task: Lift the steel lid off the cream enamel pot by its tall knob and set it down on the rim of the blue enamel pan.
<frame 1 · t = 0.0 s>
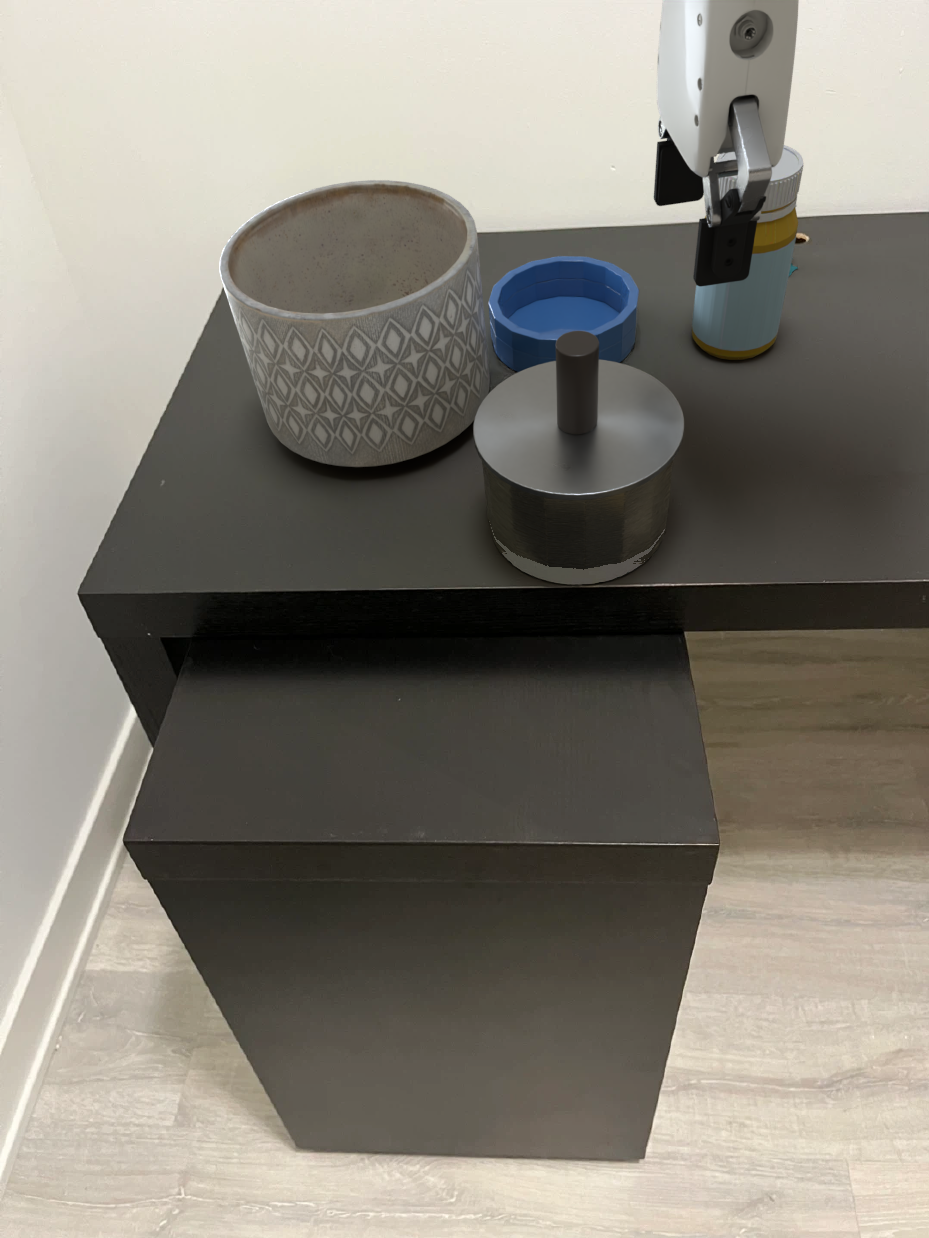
hand: (698, 239, 59), 17 cm above the table, tool pointing down, fingers open, 9 cm apart
bottle: (732, 340, 80), on the table
planter: (380, 406, 79), on the table
pan: (563, 336, 82), on the table
lid: (577, 427, 62), point 8 cm above the table, touching pot
pot: (577, 520, 68), on the table
figurine: (772, 273, 86), on the table
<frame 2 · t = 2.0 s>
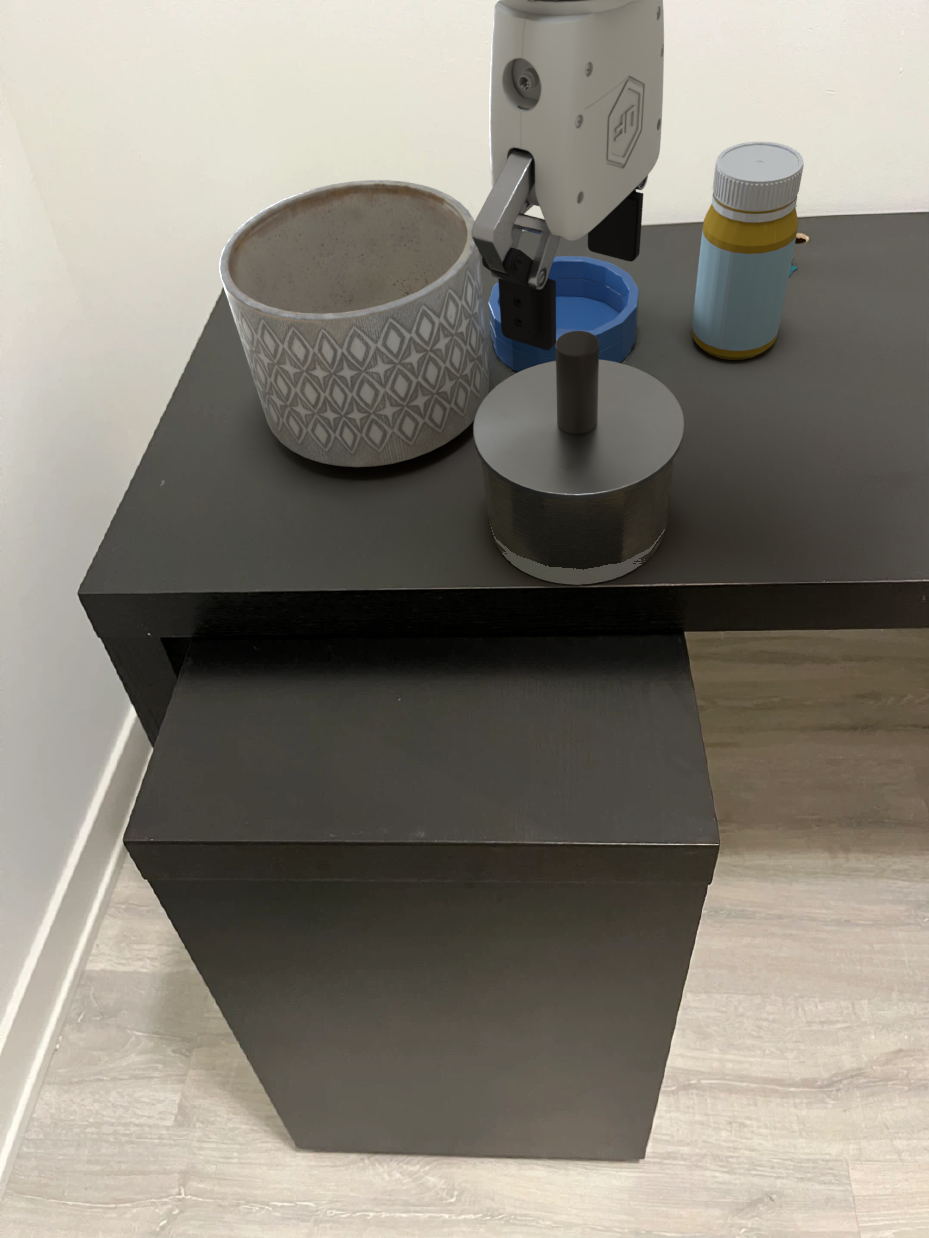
hand: (572, 296, 54), 18 cm above the table, tool pointing down, fingers open, 9 cm apart
nothing on the table moved.
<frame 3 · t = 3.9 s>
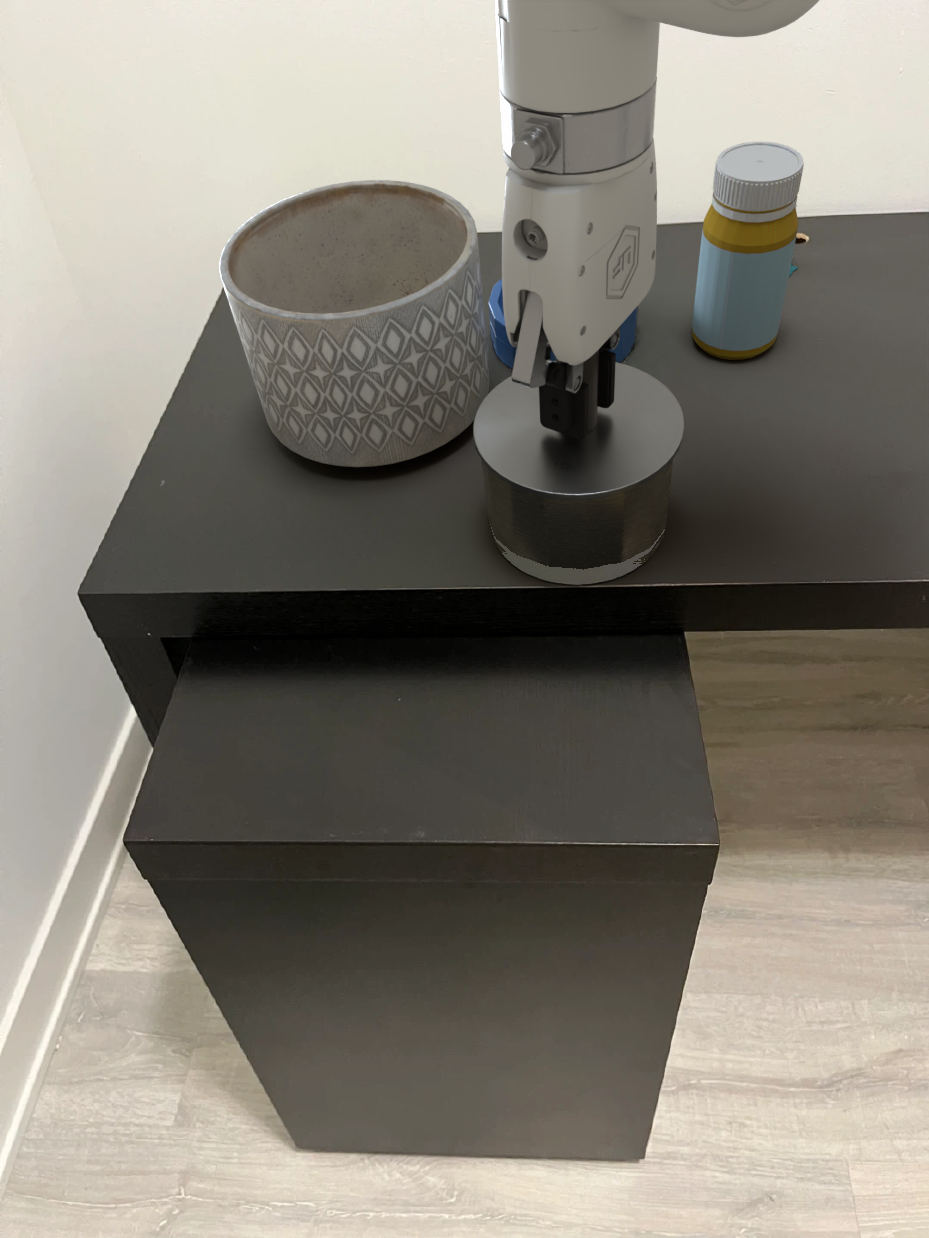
hand: (577, 413, 61), 10 cm above the table, tool pointing down, fingers closed on lid, 2 cm apart
lid: (577, 427, 62), point 9 cm above the table, touching gripper, pot
everything else where it was.
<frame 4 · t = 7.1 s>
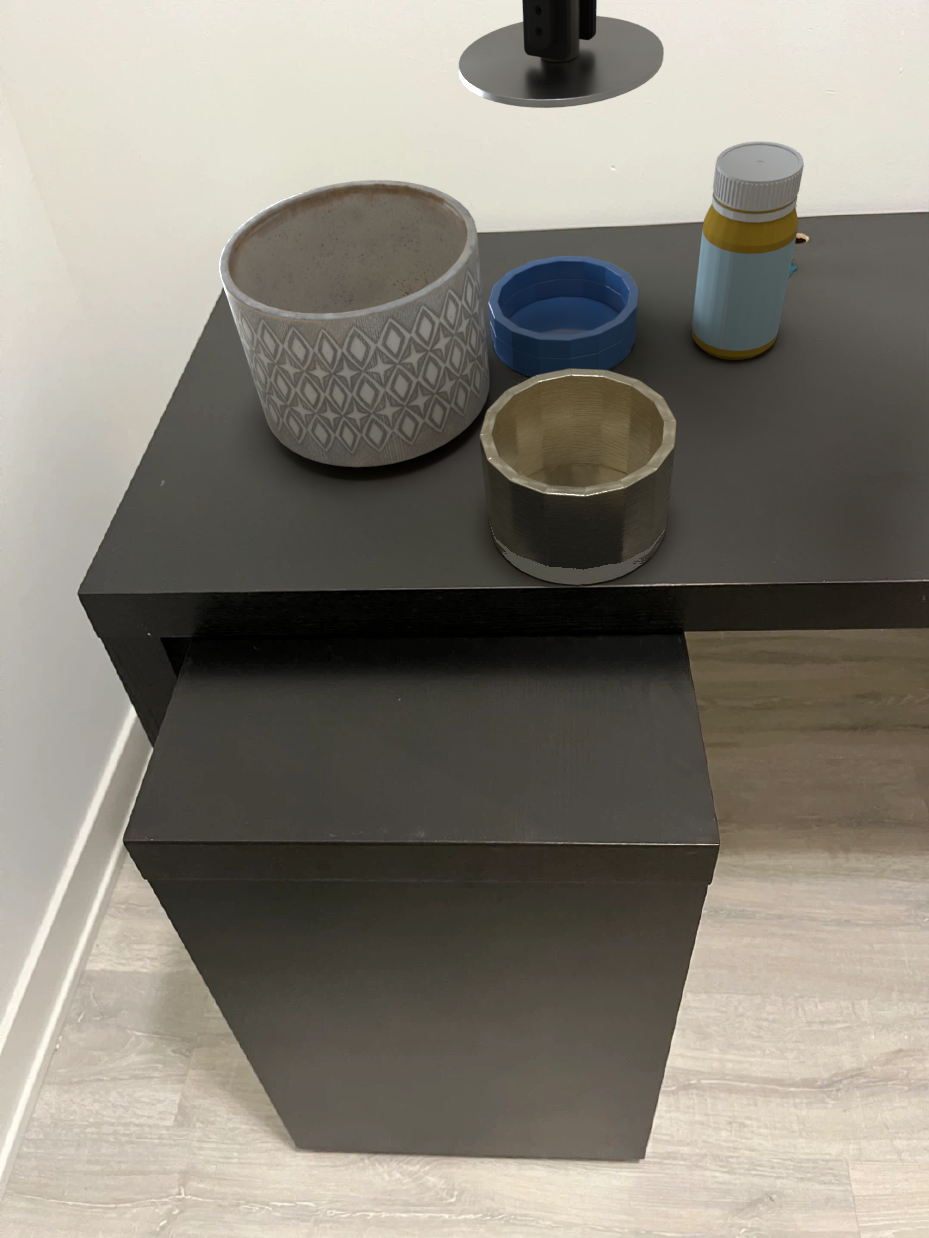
hand: (560, 43, 62), 24 cm above the table, tool pointing down, fingers closed on lid, 2 cm apart
lid: (559, 63, 63), point 23 cm above the table, touching gripper
everything else where it was.
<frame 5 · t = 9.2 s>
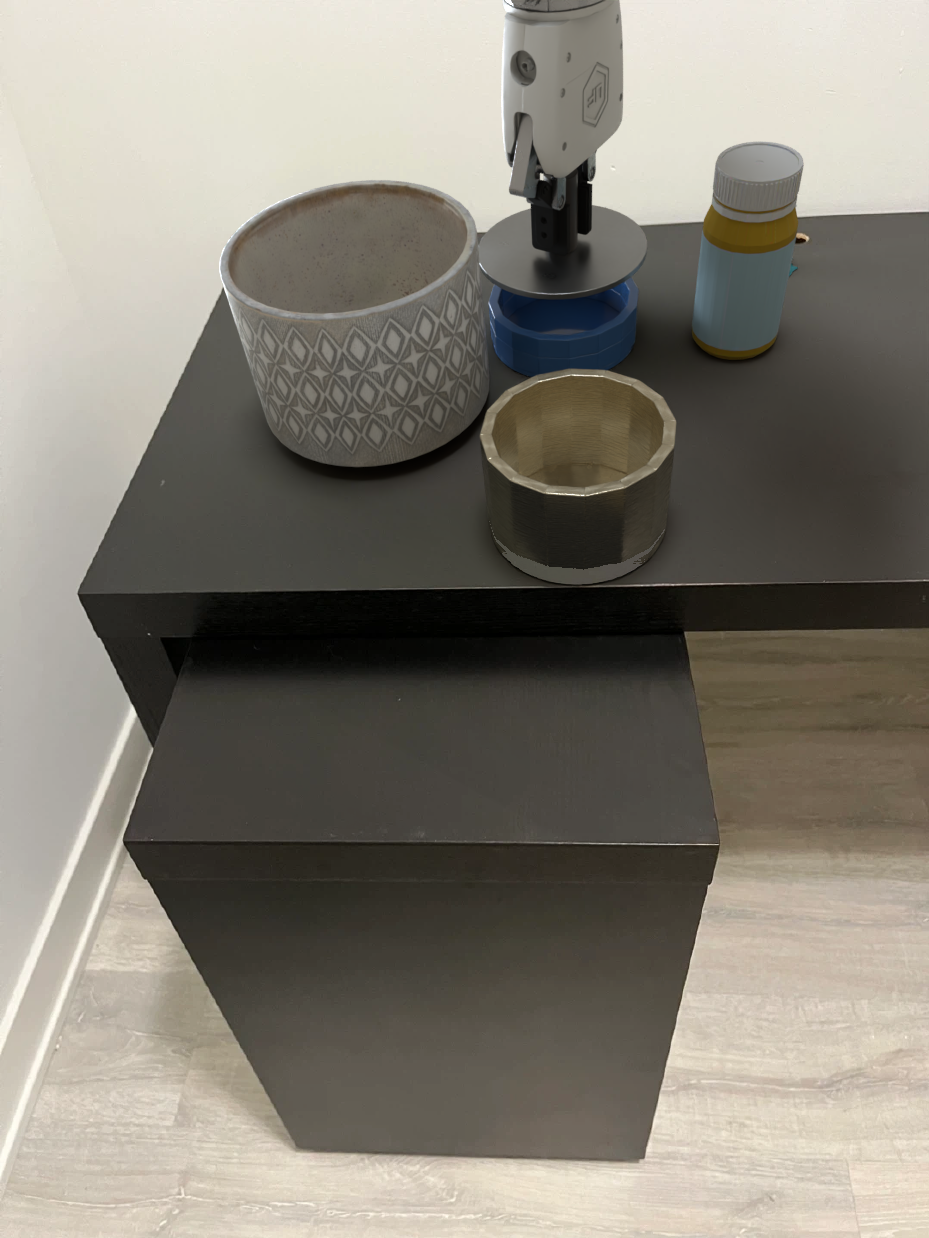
hand: (562, 238, 75), 9 cm above the table, tool pointing down, fingers closed on lid, 2 cm apart
lid: (561, 252, 76), point 8 cm above the table, touching gripper
everything else where it was.
when the fingers open (5 cm above the table, at t = 10.6 s): lid stays where it is, resting on pan.
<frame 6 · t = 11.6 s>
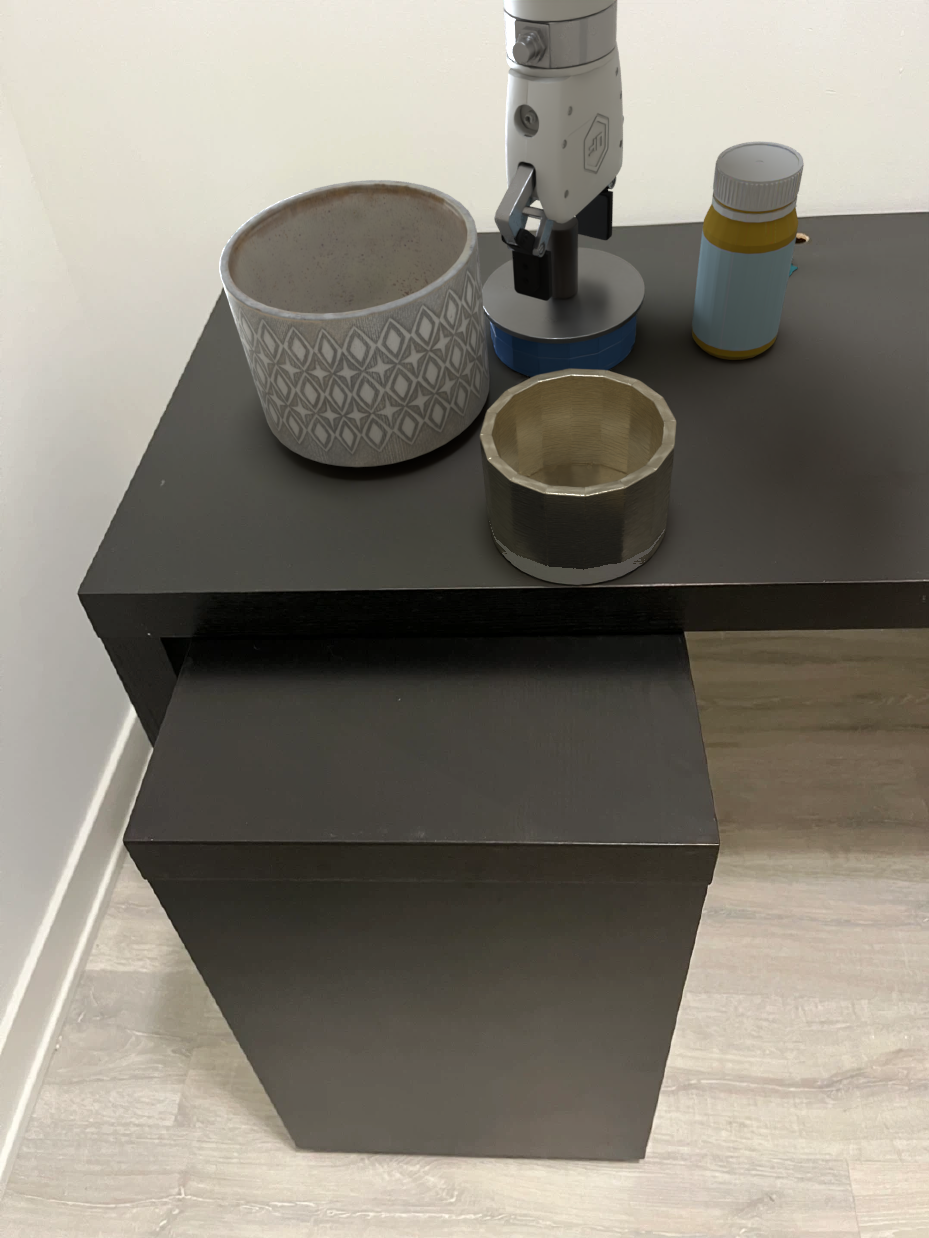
hand: (564, 264, 77), 7 cm above the table, tool pointing down, fingers open, 9 cm apart
lid: (562, 295, 79), point 4 cm above the table, touching pan
everything else where it was.
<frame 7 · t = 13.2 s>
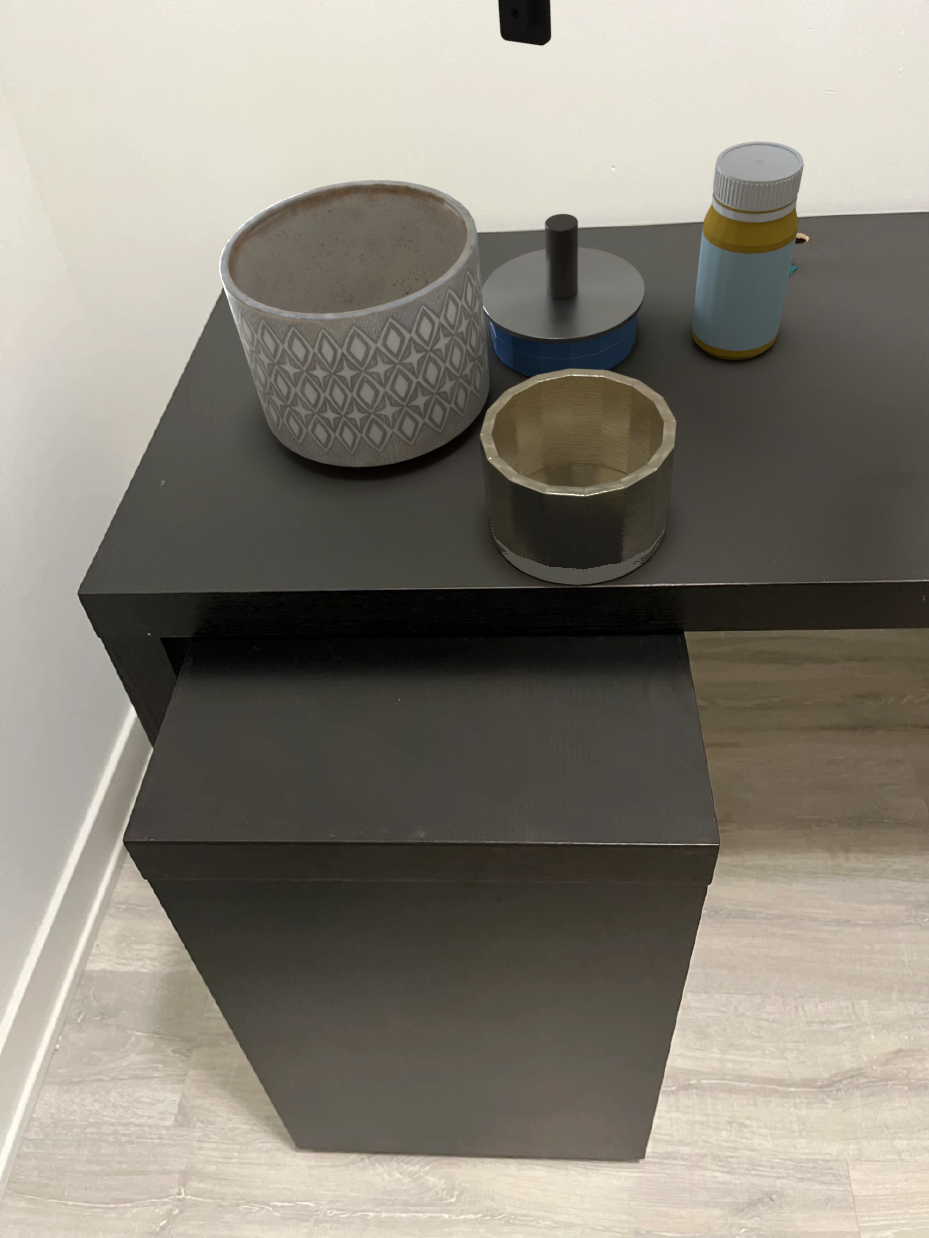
hand: (568, 11, 58), 27 cm above the table, tool pointing down, fingers open, 9 cm apart
nothing on the table moved.
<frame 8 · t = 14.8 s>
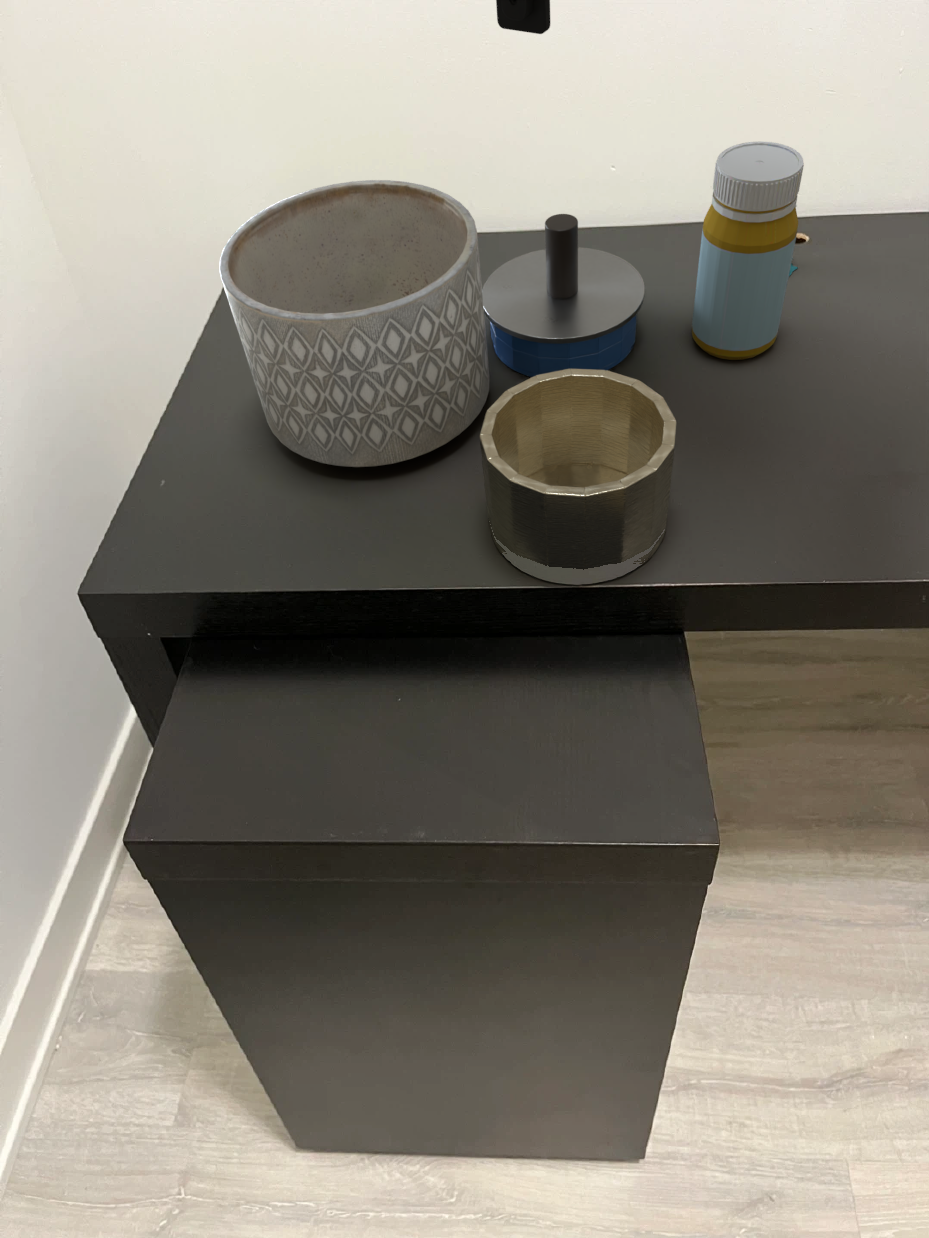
nothing on the table moved.
at the end: lid 0.1 cm off-centre on the pan, point 4.0 cm above the pan's base; lid tilted 0°; lid moved 23.0 cm from its start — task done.
